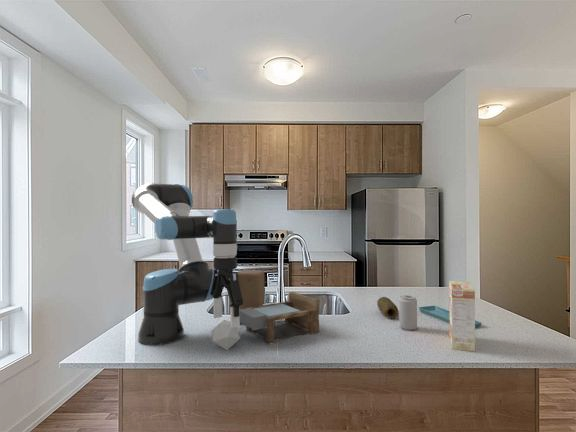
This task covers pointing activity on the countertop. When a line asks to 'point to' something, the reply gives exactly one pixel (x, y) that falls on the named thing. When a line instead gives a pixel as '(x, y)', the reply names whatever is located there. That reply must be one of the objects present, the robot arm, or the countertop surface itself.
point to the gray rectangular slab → (263, 314)
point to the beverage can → (408, 312)
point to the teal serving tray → (440, 313)
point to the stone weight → (387, 307)
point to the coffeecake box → (462, 315)
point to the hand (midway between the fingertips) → (226, 322)
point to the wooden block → (251, 288)
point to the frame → (291, 319)
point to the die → (225, 335)
